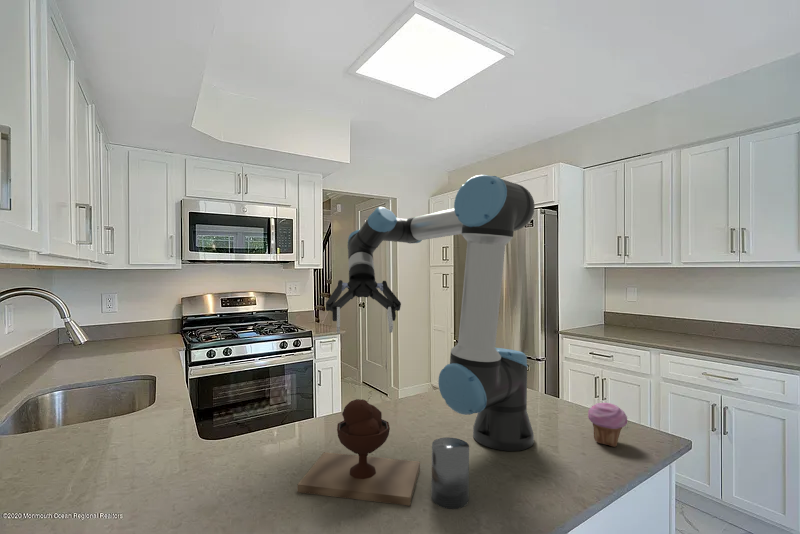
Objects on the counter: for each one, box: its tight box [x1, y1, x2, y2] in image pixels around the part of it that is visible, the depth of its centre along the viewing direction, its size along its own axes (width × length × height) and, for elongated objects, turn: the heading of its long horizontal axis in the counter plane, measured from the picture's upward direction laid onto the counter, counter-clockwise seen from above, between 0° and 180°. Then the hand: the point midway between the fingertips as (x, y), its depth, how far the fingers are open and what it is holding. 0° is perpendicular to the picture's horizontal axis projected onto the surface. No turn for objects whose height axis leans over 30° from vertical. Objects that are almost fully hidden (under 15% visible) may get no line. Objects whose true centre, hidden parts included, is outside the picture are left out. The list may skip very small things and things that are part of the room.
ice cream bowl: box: [336, 398, 391, 479], centre depth 82 cm, size 11×11×15 cm
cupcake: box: [587, 402, 628, 448], centre depth 101 cm, size 9×9×10 cm
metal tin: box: [430, 436, 470, 510], centre depth 76 cm, size 7×7×10 cm
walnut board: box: [296, 451, 421, 507], centre depth 82 cm, size 22×14×2 cm, turn 80°
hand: (365, 329), depth 102 cm, fingers open, 13 cm apart
